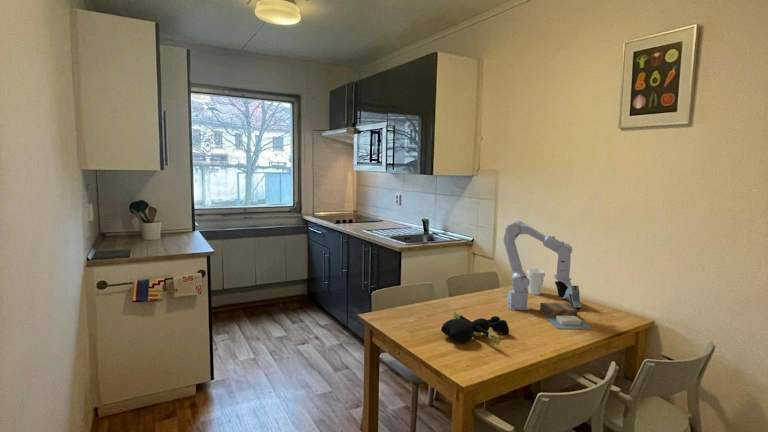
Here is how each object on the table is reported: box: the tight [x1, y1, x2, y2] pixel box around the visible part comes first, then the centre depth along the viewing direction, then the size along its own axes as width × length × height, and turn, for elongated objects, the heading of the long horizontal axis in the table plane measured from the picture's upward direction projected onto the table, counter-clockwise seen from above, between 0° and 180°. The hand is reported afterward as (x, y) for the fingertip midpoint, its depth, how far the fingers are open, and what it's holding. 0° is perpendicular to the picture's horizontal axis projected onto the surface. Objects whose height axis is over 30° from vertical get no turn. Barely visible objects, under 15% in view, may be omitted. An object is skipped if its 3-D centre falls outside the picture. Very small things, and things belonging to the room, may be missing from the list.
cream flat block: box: [556, 316, 582, 325], centre depth 199 cm, size 9×6×2 cm, turn 91°
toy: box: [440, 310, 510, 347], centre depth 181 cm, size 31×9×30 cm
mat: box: [545, 317, 594, 330], centre depth 198 cm, size 16×13×1 cm
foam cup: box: [526, 268, 546, 296], centre depth 243 cm, size 10×9×13 cm
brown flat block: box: [539, 302, 579, 318], centre depth 210 cm, size 14×10×4 cm
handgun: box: [560, 284, 583, 310], centre depth 226 cm, size 4×18×12 cm, turn 179°
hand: (561, 296), depth 207 cm, fingers closed
